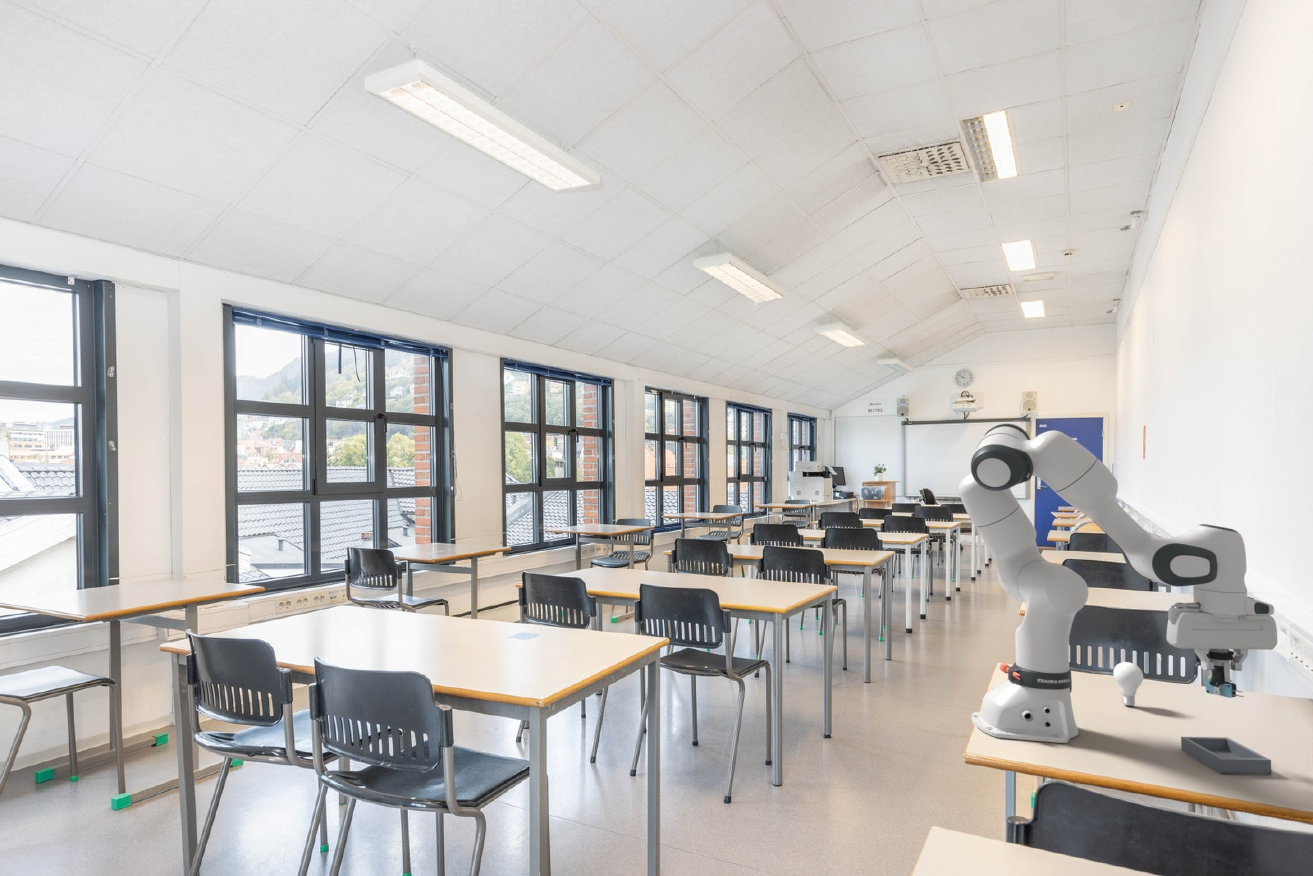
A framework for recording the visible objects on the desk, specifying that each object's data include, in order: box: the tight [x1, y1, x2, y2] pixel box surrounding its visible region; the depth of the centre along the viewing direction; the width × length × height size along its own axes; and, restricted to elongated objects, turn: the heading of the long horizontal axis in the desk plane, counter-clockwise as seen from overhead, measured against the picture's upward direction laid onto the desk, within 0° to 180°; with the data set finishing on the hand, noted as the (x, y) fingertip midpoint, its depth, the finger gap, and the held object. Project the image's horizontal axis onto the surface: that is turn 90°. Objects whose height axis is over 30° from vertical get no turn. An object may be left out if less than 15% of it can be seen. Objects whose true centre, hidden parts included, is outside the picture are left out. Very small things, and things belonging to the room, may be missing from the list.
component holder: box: [1180, 736, 1272, 776], centre depth 148 cm, size 10×12×3 cm
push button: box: [1205, 649, 1245, 699], centre depth 149 cm, size 7×5×10 cm
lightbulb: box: [1112, 661, 1144, 708], centre depth 182 cm, size 6×6×11 cm
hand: (1221, 669), depth 148 cm, fingers closed on push button, 4 cm apart
